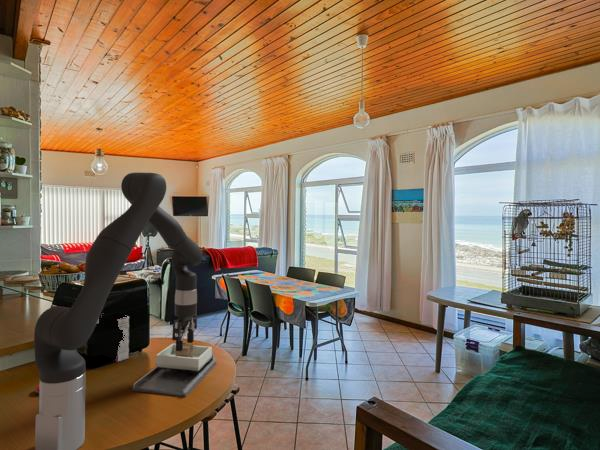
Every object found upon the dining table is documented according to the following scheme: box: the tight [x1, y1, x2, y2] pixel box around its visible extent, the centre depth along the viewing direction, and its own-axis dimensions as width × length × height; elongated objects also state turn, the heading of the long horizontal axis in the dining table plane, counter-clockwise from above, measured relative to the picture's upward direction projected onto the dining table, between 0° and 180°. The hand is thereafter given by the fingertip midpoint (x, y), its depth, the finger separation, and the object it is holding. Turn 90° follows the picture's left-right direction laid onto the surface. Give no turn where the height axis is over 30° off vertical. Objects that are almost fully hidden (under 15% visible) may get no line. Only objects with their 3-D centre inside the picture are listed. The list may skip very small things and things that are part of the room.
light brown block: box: [176, 342, 194, 358], centre depth 130 cm, size 4×4×5 cm
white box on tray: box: [155, 343, 213, 373], centre depth 131 cm, size 12×16×6 cm
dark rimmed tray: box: [131, 353, 217, 397], centre depth 126 cm, size 25×18×4 cm
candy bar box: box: [114, 315, 130, 363], centre depth 140 cm, size 11×5×16 cm, turn 58°
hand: (184, 346), depth 130 cm, fingers open, 8 cm apart
